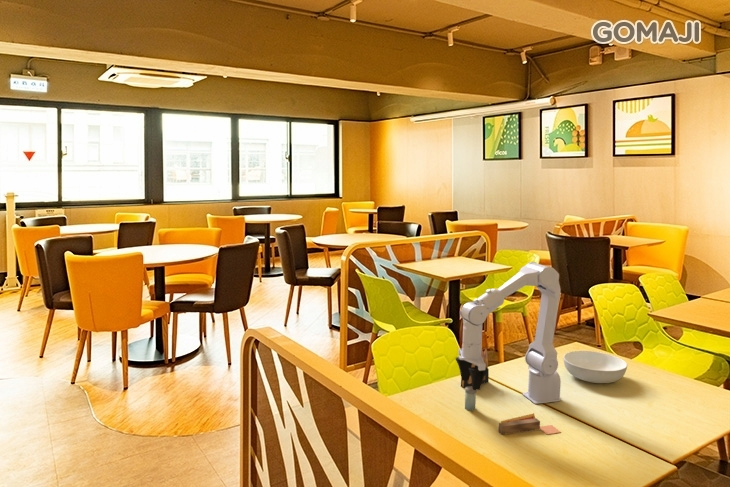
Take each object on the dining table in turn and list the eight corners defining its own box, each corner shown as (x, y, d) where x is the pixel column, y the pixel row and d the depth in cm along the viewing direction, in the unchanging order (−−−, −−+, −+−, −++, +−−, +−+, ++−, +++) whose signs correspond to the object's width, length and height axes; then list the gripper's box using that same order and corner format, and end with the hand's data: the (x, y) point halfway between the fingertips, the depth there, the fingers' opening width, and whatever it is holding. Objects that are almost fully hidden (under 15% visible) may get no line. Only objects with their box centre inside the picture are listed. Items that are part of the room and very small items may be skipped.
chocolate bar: (536, 422, 168) (537, 415, 167) (504, 430, 163) (504, 422, 162) (530, 418, 170) (530, 411, 170) (498, 426, 165) (498, 419, 165)
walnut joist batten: (535, 426, 164) (536, 418, 164) (539, 429, 162) (540, 421, 162) (498, 431, 161) (498, 423, 160) (501, 434, 159) (502, 426, 159)
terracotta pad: (551, 425, 165) (551, 424, 165) (560, 432, 160) (561, 432, 160) (538, 427, 163) (538, 426, 163) (547, 434, 159) (547, 434, 159)
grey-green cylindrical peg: (472, 405, 178) (473, 385, 177) (477, 410, 175) (478, 389, 174) (462, 406, 177) (463, 387, 176) (467, 411, 174) (468, 391, 173)
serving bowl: (637, 390, 190) (638, 371, 189) (574, 390, 190) (575, 370, 189) (611, 368, 211) (612, 350, 210) (554, 367, 211) (555, 349, 210)
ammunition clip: (463, 388, 191) (465, 354, 190) (460, 386, 193) (461, 352, 191) (488, 382, 196) (489, 349, 195) (485, 380, 198) (486, 347, 196)
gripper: (450, 336, 179) (449, 377, 181) (470, 350, 165) (469, 395, 167) (470, 334, 180) (469, 375, 182) (492, 348, 167) (490, 392, 169)
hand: (470, 384), depth 175 cm, fingers open, 7 cm apart
